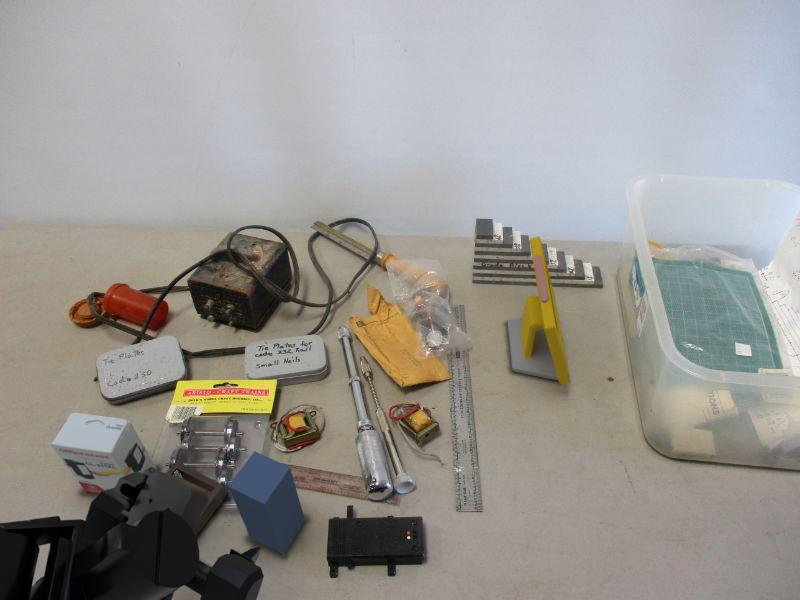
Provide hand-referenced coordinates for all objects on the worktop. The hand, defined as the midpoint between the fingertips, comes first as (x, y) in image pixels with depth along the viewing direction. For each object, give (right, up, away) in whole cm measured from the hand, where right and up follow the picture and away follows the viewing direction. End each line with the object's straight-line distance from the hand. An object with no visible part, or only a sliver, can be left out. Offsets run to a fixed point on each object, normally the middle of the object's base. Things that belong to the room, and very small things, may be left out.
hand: (223, 532), depth 62 cm
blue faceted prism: (+3, -5, +13) cm, 14 cm away
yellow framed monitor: (+41, +17, +35) cm, 56 cm away
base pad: (-10, -3, +15) cm, 18 cm away
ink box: (-19, 0, +19) cm, 27 cm away
